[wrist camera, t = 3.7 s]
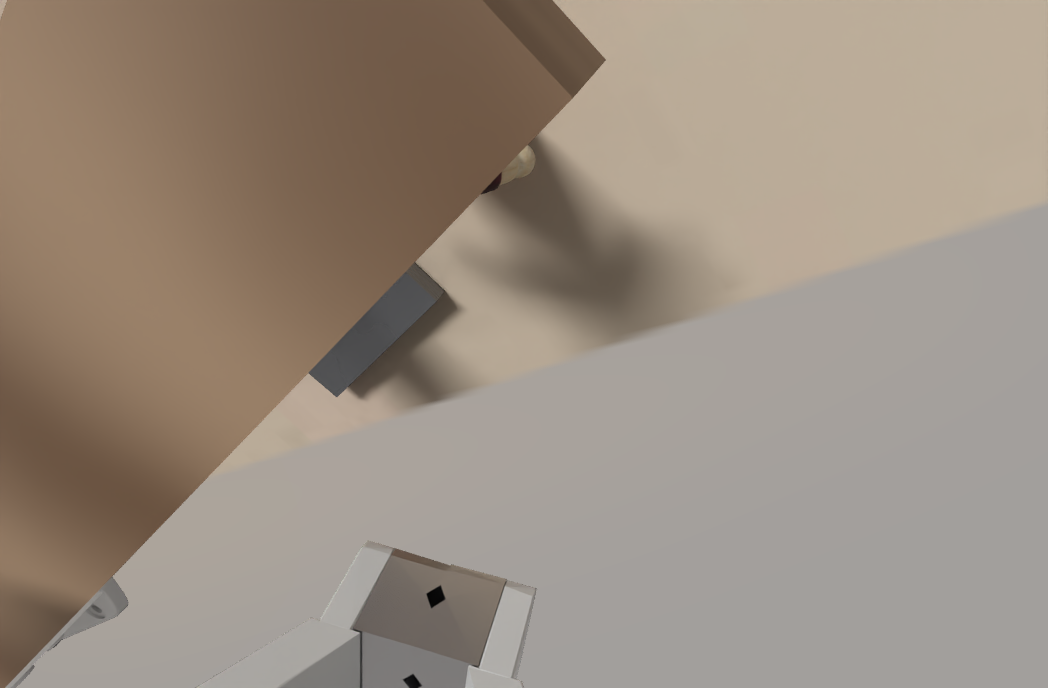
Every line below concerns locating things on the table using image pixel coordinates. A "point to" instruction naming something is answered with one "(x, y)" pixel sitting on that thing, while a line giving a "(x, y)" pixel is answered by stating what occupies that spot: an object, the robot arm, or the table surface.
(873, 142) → the table surface
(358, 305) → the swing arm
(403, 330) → the arm post
